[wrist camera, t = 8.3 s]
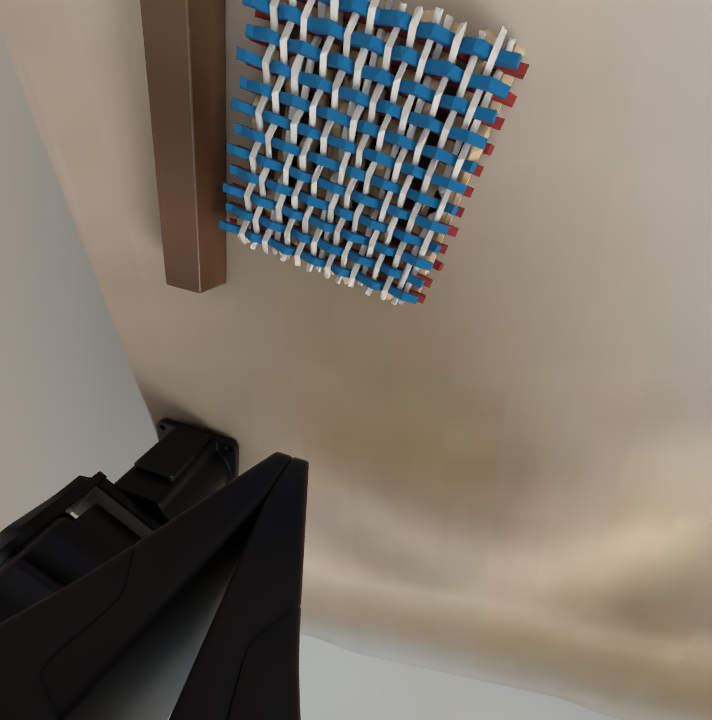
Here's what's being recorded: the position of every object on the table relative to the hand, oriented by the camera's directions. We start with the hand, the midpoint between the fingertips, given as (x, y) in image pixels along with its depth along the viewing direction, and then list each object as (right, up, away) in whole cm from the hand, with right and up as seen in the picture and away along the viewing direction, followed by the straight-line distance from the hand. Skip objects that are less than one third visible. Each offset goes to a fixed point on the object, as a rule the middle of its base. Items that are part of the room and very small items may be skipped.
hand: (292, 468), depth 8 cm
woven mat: (+2, +12, +7) cm, 14 cm away
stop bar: (-6, +13, +8) cm, 16 cm away
